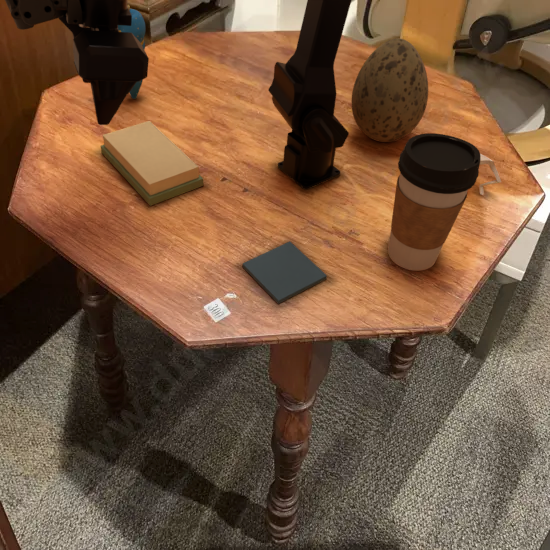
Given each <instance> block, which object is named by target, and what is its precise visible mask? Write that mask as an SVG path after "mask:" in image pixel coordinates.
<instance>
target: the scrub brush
mask: <svg viewBox="0 0 550 550" xmlns="http://www.w3.org/2000/svg"><path fill="white" fill-rule="evenodd" d="M102 139H103V144H101V145H100V151H101V154H102V155H103V156H104V157H105V158H106V159H107V160H108V161H109V163H110V164H111V165H112V166H113V167H114V168H115V169H116V170H117V171H118V172H119V174H120V175H121V176H122V177H123V178H124V179H125V180H126V181H127V182H128V184H130V186H131V187H132V188H133V189H134V190H135V191H136V192H137V193H138V195H140V196H141V198H142V199H143V200H144V201H145V202H146V203H147V204H148V205H149V206H150V207H151V206H154V205H157V204H159V203H163V202H165V201H167V200H169V199H173V198H175V197H177V196H180V195H183V194H185V193H188V192H190V191H193V190H196V189H198V188H201V187H203V186H204V183H205V182H204V177H202V175H200V166H199V165H198V164H197V163H196V162H195V161H193V159H191V158H190V157H189V156H188V155H187V154H186V153H185V152H184V151H183V150H182V149H181V148H180V147H178V146H177V144H175V143H174V142H173V141H172V140H171V139H170V138H169V137H168V136H167V135H166V134H165V133H163V131H162V130H160V129H159V128H158V126H156V125H155V124H154V123H153V122H152V121H150V120H147V121H143V122H139V123H137V124H134V125H133V124H132V125H130V126H127V127H124V128H121V129H117V130H113V131H110V132H108V133H104V134H102Z"/></svg>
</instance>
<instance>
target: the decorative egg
mask: <svg viewBox="0 0 550 550" xmlns="http://www.w3.org/2000/svg"><path fill="white" fill-rule="evenodd" d="M428 79H429V78H428V75H427V68H426V67H425V64H424V61H423V58H422V57H421V54H420V53H419V51H418V50H417V49H416V47H415V46H414V45H413V44H412V43H411V42H410V41H409V40H406V39H404V38H399V37H397V38H391V39H389V40H387V41H384V42H383V43H382V44H380V45H379V46H377V48H375V49H374V50H373V52H371V53H370V55H369V56H368V57H367V58H366V60H365V61H364V62H363V64H362V66H361V68H360V70H359V72H358V74H357V76H356V78H355V81H354V84H353V87H352V92H351V102H350V103H351V111H352V116H353V119H354V121H355V123H356V125H357V127H358V128H359V129H360V131H361V132H362V133H363V134H364V135H366V137H368V138H370V139H371V140H373V141H377V142H380V143H392V142H396V141H399V140H401V139H403V138H405V137H406V136H408V135H409V134H410V133H412V132H413V131H414V130H415V129H416V128H417V126H418V125H419V124H420V122H421V121H422V119H423V117H424V114H425V112H426V109H427V105H428V101H429V80H428Z"/></svg>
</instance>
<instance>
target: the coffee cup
mask: <svg viewBox="0 0 550 550" xmlns="http://www.w3.org/2000/svg"><path fill="white" fill-rule="evenodd" d="M480 154H481V152H480V150H479V148H477V146H475V145H474V144H473V143H471V142H469V141H468V140H464V139H462V138H459V137H456V136H452V135H448V134H443V133H435V132H433V133H432V132H428V133H420V134H416V135H413V136H411V138H409V139H407V141H406V143H405V145H404V147H403V149H402V151H401V152H400V154H399V157H398V162H397V168H398V171H399V175H398V177H397V180H396V186H395V194H394V201H393V208H392V217H391V224H390V232H389V233H390V234H389V239H388V245H387V254H388V256H389V258H390V259H391V261H392V262H393V263H394V264H396V265H397V266H399V267H401V268H403V269H405V270H409V271H416V272H417V271H418V272H419V271H421V272H422V271H425V270H429V269H430V268H432V267H433V266H434V265H435V263H436V262H437V260H438V257H439V256H440V253H441V251H442V248H443V247H444V244H445V243H446V240H447V239H448V236H449V235H450V232H451V230H452V228H453V226H454V224H455V222H456V220H457V218H458V217H459V214H460V213H461V210H462V208H463V206H464V204H465V202H466V200H467V197H468V191H469V190H470V189H471V188H472V187H473V186H475V184H476V183H477V180H478V177H479V172H480V170H479V169H480V166H481V165H480V159H481V156H480Z"/></svg>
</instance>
